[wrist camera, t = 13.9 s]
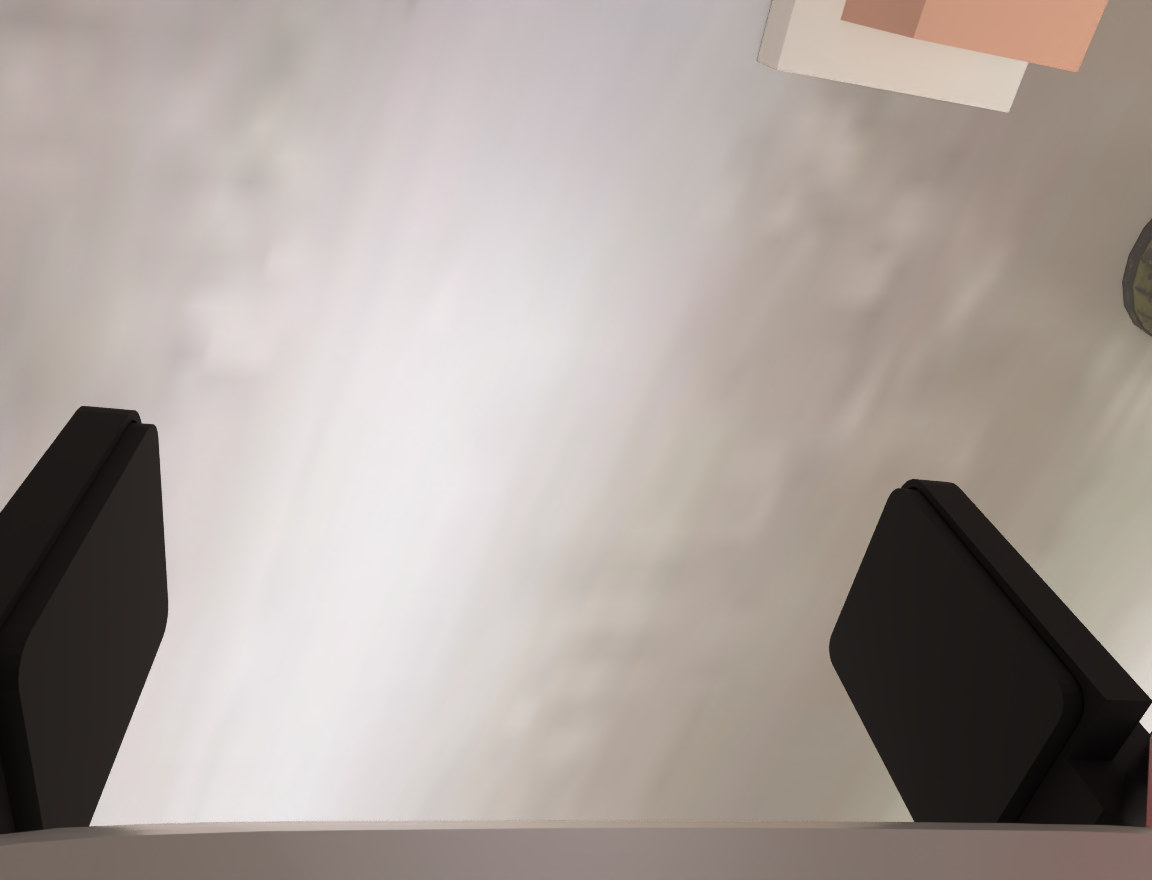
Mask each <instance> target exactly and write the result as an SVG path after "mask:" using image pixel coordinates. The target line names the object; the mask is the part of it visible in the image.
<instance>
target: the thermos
mask: <svg viewBox="0 0 1152 880" xmlns="http://www.w3.org/2000/svg"><path fill="white" fill-rule="evenodd" d="M1123 296H1124V306H1125V308H1126V310H1127V312H1128V314H1129V316H1130V317H1131V319H1132V321H1133V323H1134V324H1135V325H1136V326H1137V327H1139V328H1140V329H1142V330H1143V331H1144V332H1146V333H1147V334H1149V335H1150V336H1152V220H1151V221H1150V222H1149V223H1148V224H1147V226H1146V227H1145V228H1144V229H1143V231H1142V233H1141V235H1140V237H1139V239H1138V240H1137V242H1136V244H1135V246H1134V248H1133V249H1132V251H1131V253H1130V255H1129V258H1128V262H1127V266H1126V270H1125V274H1124V278H1123Z"/></svg>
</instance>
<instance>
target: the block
mask: <svg viewBox="0 0 1152 880" xmlns="http://www.w3.org/2000/svg"><path fill="white" fill-rule="evenodd" d="M845 3H846V0H772V4H771V8H770V12H769V16H768V20H767V23H766V27H765V31H764V35H763V39H762V43H761V47H760V51H759V55H758V58H757V61H759V62H761V63H763V64H765V65H767V66H770V67H772V68H774V69H776V70H781V71H786V72H792V73H797V74H802V75H808V76H813V77H819V78H824V79H830V80H835V81H840V82H846V83H851V84H857V85H862V86H867V87H873V88H878V89H884V90H889V91H894V92H900V93H905V94H911V95H916V96H922V97H927V98H932V99H938V100H943V101H949V102H954V103H959V104H965V105H970V106H976V107H981V108H986V109H992V110H997V111H1003V112H1008V113H1009V110H1010V108H1011V105H1012V102H1013V100H1014V97H1015V95H1016V92H1017V90H1018V87H1019V85H1020V82H1021V80H1022V77H1023V75H1024V72H1025V70H1026V67H1027V64H1028V62H1025V61H1020V60H1015V59H1010V58H1006V57H1001V56H996V55H991V54H986V53H981V52H977V51H972V50H967V49H962V48H957V47H952V46H948V45H943V44H938V43H933V42H928V41H923V40H919V39H914V38H910V37H906V36H902V35H898V34H894V33H890V32H886V31H882V30H878V29H874V28H870V27H866V26H862V25H858V24H855V23H851V22H847V21H843V20H841V16H842V13H843V9H844V6H845Z"/></svg>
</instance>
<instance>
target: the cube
mask: <svg viewBox="0 0 1152 880" xmlns="http://www.w3.org/2000/svg"><path fill="white" fill-rule="evenodd" d="M1107 2H1108V0H846V3H845V6H844V9H843V13H842V16H841V20H843V21H847V22H851V23H855V24H858V25H862V26H866V27H870V28H874V29H878V30H882V31H886V32H890V33H894V34H898V35H902V36H906V37H910V38H914V39H919V40H923V41H928V42H933V43H938V44H943V45H948V46H952V47H957V48H962V49H967V50H972V51H977V52H981V53H986V54H991V55H996V56H1001V57H1006V58H1010V59H1015V60H1020V61H1025V62H1030V63H1035V64H1039V65H1044V66H1049V67H1054V68H1059V69H1064V70H1068V71H1073V72H1078V70H1079V67H1080V65H1081V63H1082V60H1083V58H1084V56H1085V53H1086V51H1087V49H1088V46H1089V44H1090V42H1091V39H1092V37H1093V35H1094V32H1095V30H1096V28H1097V25H1098V23H1099V21H1100V18H1101V16H1102V14H1103V11H1104V9H1105V7H1106V4H1107Z"/></svg>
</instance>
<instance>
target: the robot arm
mask: <svg viewBox="0 0 1152 880" xmlns="http://www.w3.org/2000/svg"><path fill="white" fill-rule="evenodd" d="M167 617H168V591H167V575H166V558H165V541H164V524H163V508H162V491H161V474H160V458H159V441H158V431H157V428H156V426H155V425H154V424H142V423H141V419H140V416H139V414H138V412H137V411H136V410H124V409H113V408H102V407H90V406H81V407H80V408H79V409H78V410H77V411H76V412H75V414H74V415H73V416H72V418H71V419H70V420H69V422H68V423H67V424H66V426H65V427H64V428H63V430H62V431H61V432H60V434H59V435H58V436H57V438H56V439H55V440H54V442H53V443H52V444H51V446H50V447H49V448H48V450H47V451H46V452H45V454H44V455H43V456H42V458H41V459H40V460H39V462H38V463H37V464H36V466H35V467H34V468H33V470H32V471H31V472H30V474H29V475H28V476H27V478H26V479H25V480H24V482H23V483H22V484H21V486H20V487H19V488H18V490H17V491H16V493H15V494H14V495H13V497H12V498H11V499H10V501H9V502H8V503H7V505H6V506H5V507H4V509H3V510H2V511H1V513H0V880H1152V732H1151V733H1150V734H1149V733H1148V732H1147V731H1146V729H1145V728H1144V727H1143V726H1142V725H1141V724H1140V723H1139V721H1140V719H1141V718H1142V717H1143V715H1144V714H1145V712H1146V711H1147V709H1148V708H1149V706H1150V705H1151V703H1152V700H1151V699H1150V698H1149V696H1148V695H1147V694H1146V693H1145V692H1144V691H1143V690H1142V689H1141V688H1140V687H1139V685H1138V684H1137V683H1136V682H1135V681H1134V680H1133V679H1132V678H1131V677H1130V675H1129V674H1128V673H1127V672H1126V671H1125V670H1124V669H1123V668H1122V667H1121V666H1120V664H1119V663H1118V662H1117V661H1116V660H1115V659H1114V658H1113V657H1112V656H1111V655H1110V653H1109V652H1108V651H1107V650H1106V649H1105V648H1104V647H1103V646H1102V645H1101V643H1100V642H1099V641H1098V640H1097V639H1096V638H1095V637H1094V636H1093V635H1092V634H1091V632H1090V631H1089V630H1088V629H1087V628H1086V627H1085V626H1084V625H1083V624H1082V623H1081V621H1080V620H1079V619H1078V618H1077V617H1076V616H1075V615H1074V614H1073V613H1072V611H1071V610H1070V609H1069V608H1068V607H1067V606H1066V605H1065V604H1064V603H1063V602H1062V600H1061V599H1060V598H1059V597H1058V596H1057V595H1056V594H1055V593H1054V592H1053V591H1052V589H1051V588H1050V587H1049V586H1048V585H1047V584H1046V583H1045V582H1044V581H1043V579H1042V578H1041V577H1040V576H1039V575H1038V574H1037V573H1036V572H1035V571H1034V570H1033V568H1032V567H1031V566H1030V565H1029V564H1028V563H1027V562H1026V561H1025V560H1024V559H1023V557H1022V556H1021V555H1020V554H1019V553H1018V552H1017V551H1016V550H1015V549H1014V547H1013V546H1012V545H1011V544H1010V543H1009V542H1008V541H1007V540H1006V539H1005V538H1004V536H1003V535H1002V534H1001V533H1000V532H999V531H998V530H997V529H996V528H995V527H994V525H993V524H992V523H991V522H990V521H989V520H988V519H987V518H986V517H985V515H984V514H983V513H982V512H981V511H980V510H979V509H978V508H977V507H976V506H975V504H974V503H973V502H972V501H971V500H970V499H969V498H968V497H967V496H966V494H965V493H964V492H963V491H962V490H961V489H960V488H959V487H958V486H957V485H955V484H954V483H950V482H941V481H929V480H918V479H912V480H909V481H907V482H906V483H905V484H904V485H903V486H902V487H901V488H898V489H895V490H894V491H893V492H892V493H891V494H890V496H889V498H888V500H887V502H886V505H885V507H884V510H883V512H882V514H881V517H880V519H879V522H878V524H877V526H876V529H875V531H874V534H873V536H872V538H871V541H870V543H869V546H868V548H867V550H866V553H865V555H864V558H863V560H862V563H861V565H860V567H859V570H858V572H857V575H856V577H855V579H854V582H853V584H852V587H851V589H850V591H849V594H848V596H847V599H846V601H845V604H844V606H843V608H842V611H841V613H840V616H839V618H838V620H837V623H836V625H835V628H834V630H833V632H832V635H831V638H830V644H829V653H830V658H831V662H832V664H833V666H834V668H835V670H836V672H837V674H838V676H839V678H840V680H841V682H842V684H843V686H844V688H845V689H846V691H847V693H848V695H849V697H850V699H851V701H852V703H853V705H854V707H855V709H856V711H857V712H858V714H859V716H860V718H861V720H862V722H863V724H864V726H865V728H866V730H867V732H868V734H869V736H870V737H871V739H872V741H873V743H874V745H875V747H876V749H877V751H878V753H879V755H880V757H881V759H882V760H883V762H884V764H885V766H886V768H887V770H888V772H889V774H890V776H891V778H892V780H893V782H894V783H895V785H896V787H897V789H898V791H899V793H900V795H901V797H902V799H903V801H904V803H905V805H906V807H907V808H908V810H909V812H910V814H911V816H912V818H913V820H914V822H831V821H566V820H548V821H279V822H203V823H166V824H136V825H114V826H91V827H89V825H90V822H91V820H92V817H93V814H94V812H95V809H96V807H97V804H98V802H99V799H100V797H101V794H102V791H103V789H104V786H105V784H106V781H107V779H108V776H109V774H110V771H111V768H112V766H113V763H114V761H115V758H116V756H117V753H118V751H119V748H120V745H121V743H122V740H123V738H124V735H125V733H126V730H127V728H128V725H129V722H130V720H131V717H132V715H133V712H134V710H135V707H136V705H137V702H138V699H139V697H140V694H141V692H142V689H143V687H144V684H145V682H146V679H147V676H148V674H149V671H150V669H151V666H152V664H153V661H154V659H155V656H156V653H157V651H158V648H159V646H160V643H161V641H162V638H163V635H164V632H165V628H166V623H167Z"/></svg>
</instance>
